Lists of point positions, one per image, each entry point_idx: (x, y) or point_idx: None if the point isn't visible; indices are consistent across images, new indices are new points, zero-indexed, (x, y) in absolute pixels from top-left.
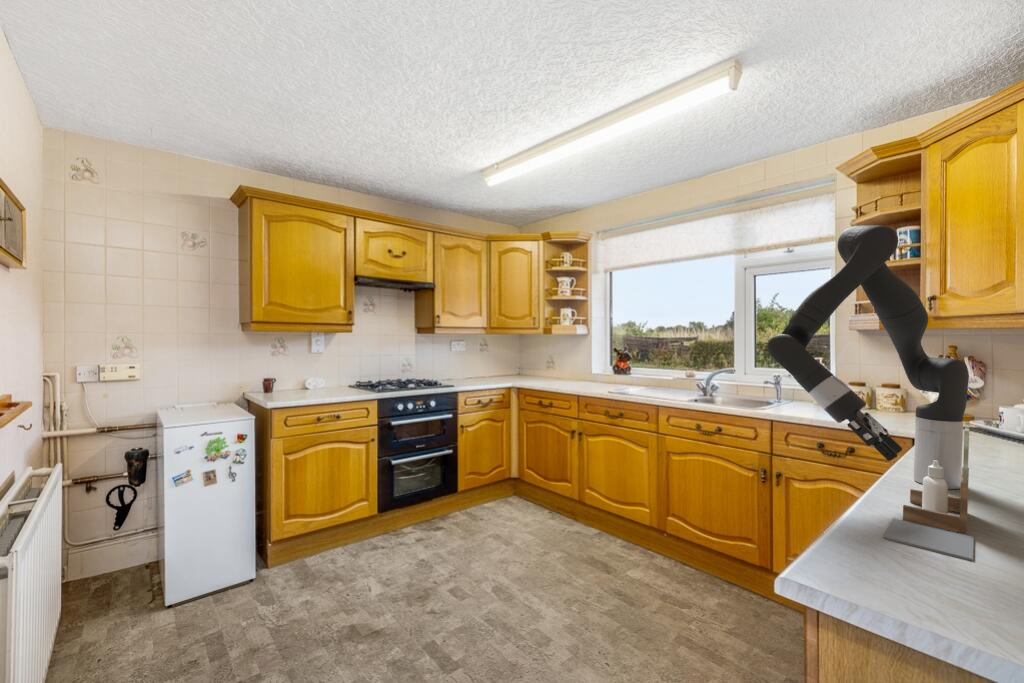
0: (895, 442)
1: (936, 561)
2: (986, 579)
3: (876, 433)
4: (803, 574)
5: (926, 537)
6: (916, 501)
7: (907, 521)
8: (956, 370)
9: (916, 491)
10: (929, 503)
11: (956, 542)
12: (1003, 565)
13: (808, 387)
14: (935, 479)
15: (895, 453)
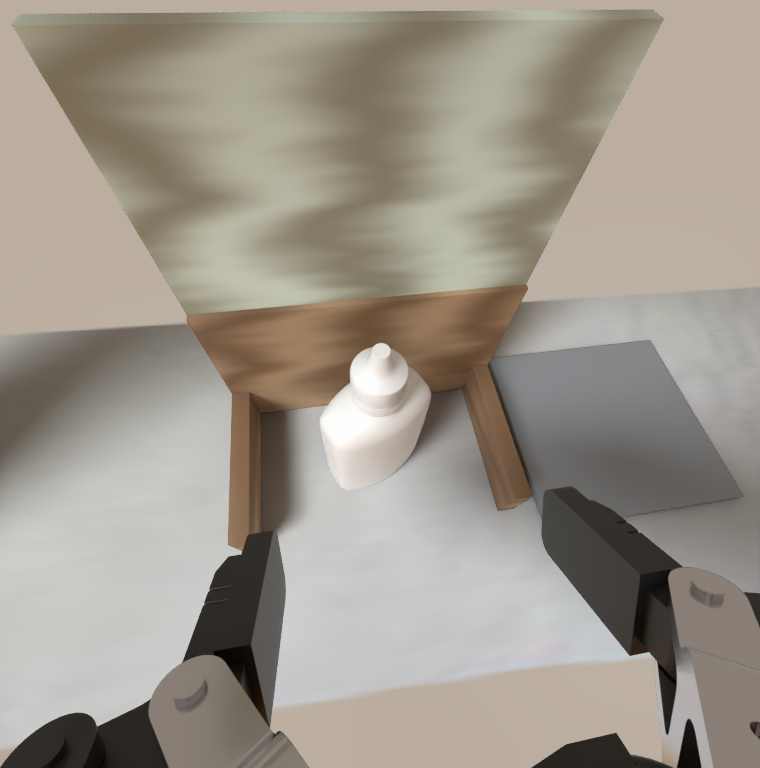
0: (264, 576)
1: (732, 385)
2: (713, 319)
3: (738, 662)
4: None
5: (621, 423)
6: (259, 526)
7: (535, 488)
8: None
9: (249, 519)
10: (411, 445)
11: (578, 374)
12: (603, 309)
13: None
14: (407, 391)
15: (578, 493)
